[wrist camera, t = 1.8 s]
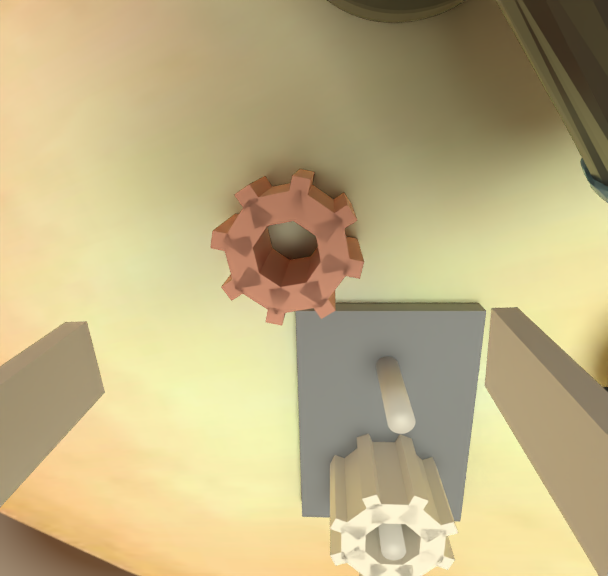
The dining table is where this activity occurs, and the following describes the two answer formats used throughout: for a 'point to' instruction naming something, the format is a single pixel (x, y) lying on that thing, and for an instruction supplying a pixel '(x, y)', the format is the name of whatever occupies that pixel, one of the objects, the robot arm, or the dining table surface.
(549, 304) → the dining table surface
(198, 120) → the dining table surface
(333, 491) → the gear board
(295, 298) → the gear
